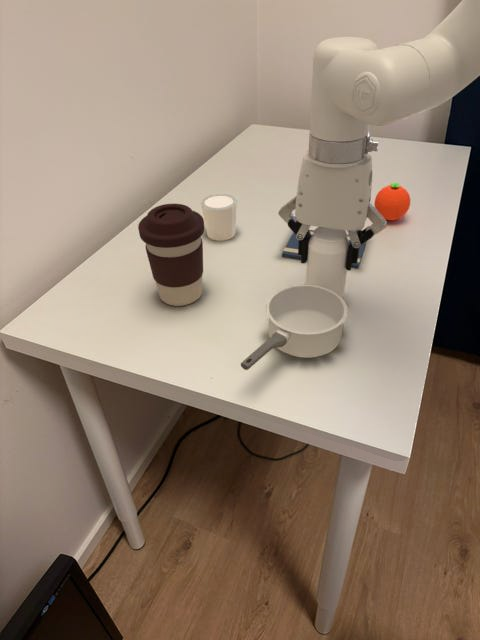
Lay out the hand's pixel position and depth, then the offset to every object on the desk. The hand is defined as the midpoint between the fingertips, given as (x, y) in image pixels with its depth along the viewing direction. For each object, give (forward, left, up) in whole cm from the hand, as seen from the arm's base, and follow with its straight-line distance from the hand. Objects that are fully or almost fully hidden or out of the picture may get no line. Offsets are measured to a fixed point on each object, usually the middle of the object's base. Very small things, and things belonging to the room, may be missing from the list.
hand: (327, 261), depth 75 cm
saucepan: (+2, +14, -7) cm, 16 cm away
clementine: (-7, -31, -7) cm, 33 cm away
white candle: (+24, -15, -7) cm, 29 cm away
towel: (+3, -15, -7) cm, 17 cm away
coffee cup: (+23, +6, -7) cm, 25 cm away
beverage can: (0, 0, -7) cm, 7 cm away
